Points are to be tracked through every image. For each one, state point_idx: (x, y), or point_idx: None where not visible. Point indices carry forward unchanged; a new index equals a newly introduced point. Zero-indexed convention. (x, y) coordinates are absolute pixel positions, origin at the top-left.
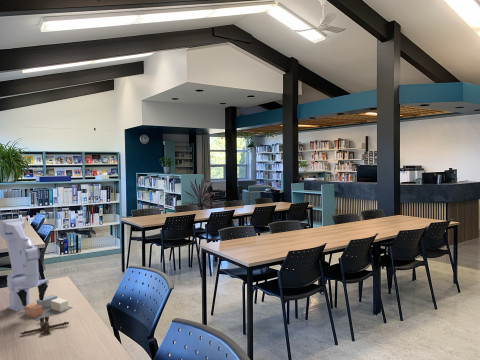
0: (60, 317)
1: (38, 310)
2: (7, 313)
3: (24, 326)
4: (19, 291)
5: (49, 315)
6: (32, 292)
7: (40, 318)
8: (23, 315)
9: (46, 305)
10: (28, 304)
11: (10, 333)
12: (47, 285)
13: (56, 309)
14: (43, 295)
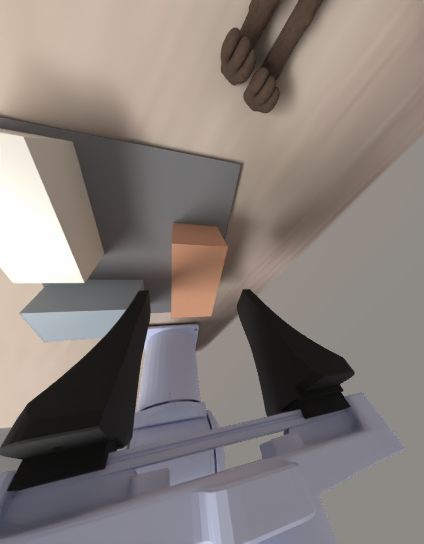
0: (115, 14)
1: (195, 236)
2: (217, 328)
3: (298, 176)
4: (343, 399)
5: (158, 166)
6: None
7: (278, 90)
8: None
9: (113, 287)
10: (193, 315)
11: (368, 165)
12: (13, 437)
13: (85, 201)
14: (129, 315)
